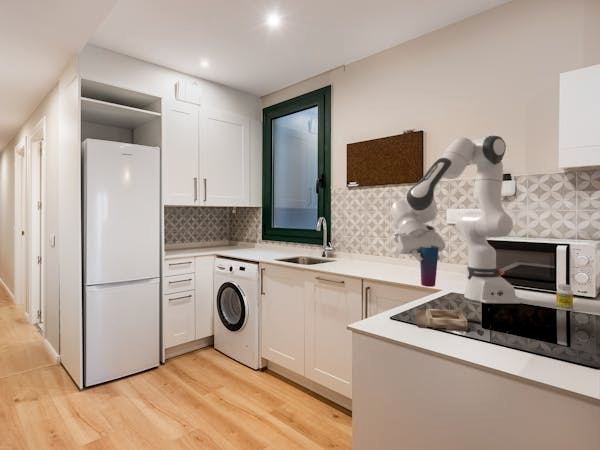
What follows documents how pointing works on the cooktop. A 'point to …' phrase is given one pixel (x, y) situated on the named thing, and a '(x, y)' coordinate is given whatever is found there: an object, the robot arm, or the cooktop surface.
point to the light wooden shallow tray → (441, 319)
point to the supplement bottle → (564, 297)
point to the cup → (429, 265)
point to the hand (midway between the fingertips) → (430, 260)
